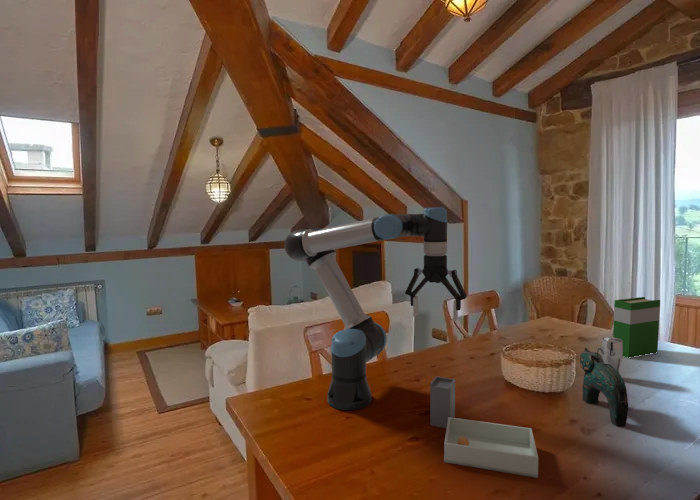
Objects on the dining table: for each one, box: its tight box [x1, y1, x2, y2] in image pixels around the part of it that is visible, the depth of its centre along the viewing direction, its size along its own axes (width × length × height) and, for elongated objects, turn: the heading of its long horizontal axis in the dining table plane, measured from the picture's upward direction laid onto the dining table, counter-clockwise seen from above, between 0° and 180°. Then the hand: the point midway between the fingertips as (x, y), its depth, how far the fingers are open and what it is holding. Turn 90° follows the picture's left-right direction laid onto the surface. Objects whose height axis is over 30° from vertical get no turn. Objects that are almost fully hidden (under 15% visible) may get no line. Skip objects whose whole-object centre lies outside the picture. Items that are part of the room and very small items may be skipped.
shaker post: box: [429, 375, 456, 430], centre depth 123 cm, size 6×6×13 cm
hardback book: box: [612, 296, 661, 359], centre depth 178 cm, size 18×7×24 cm, turn 109°
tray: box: [443, 417, 539, 479], centre depth 107 cm, size 22×14×5 cm, turn 72°
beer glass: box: [600, 336, 624, 374], centre depth 153 cm, size 7×7×15 cm
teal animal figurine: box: [579, 347, 629, 427], centre depth 127 cm, size 20×6×20 cm, turn 178°
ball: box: [458, 437, 469, 446], centre depth 108 cm, size 3×3×3 cm
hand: (435, 317), depth 135 cm, fingers open, 13 cm apart
